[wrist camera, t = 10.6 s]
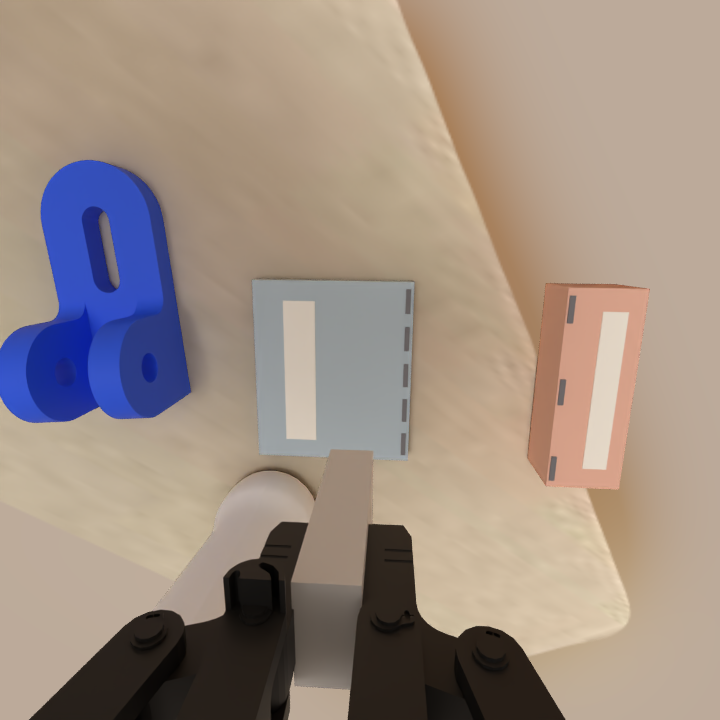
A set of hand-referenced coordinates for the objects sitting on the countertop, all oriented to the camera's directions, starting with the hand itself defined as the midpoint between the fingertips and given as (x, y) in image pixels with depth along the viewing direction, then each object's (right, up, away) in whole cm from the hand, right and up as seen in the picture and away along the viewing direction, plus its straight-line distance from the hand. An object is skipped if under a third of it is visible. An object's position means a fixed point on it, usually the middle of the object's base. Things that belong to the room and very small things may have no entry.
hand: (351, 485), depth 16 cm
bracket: (-18, +10, +20) cm, 29 cm away
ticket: (-2, +4, +20) cm, 21 cm away
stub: (+16, +3, +19) cm, 25 cm away
